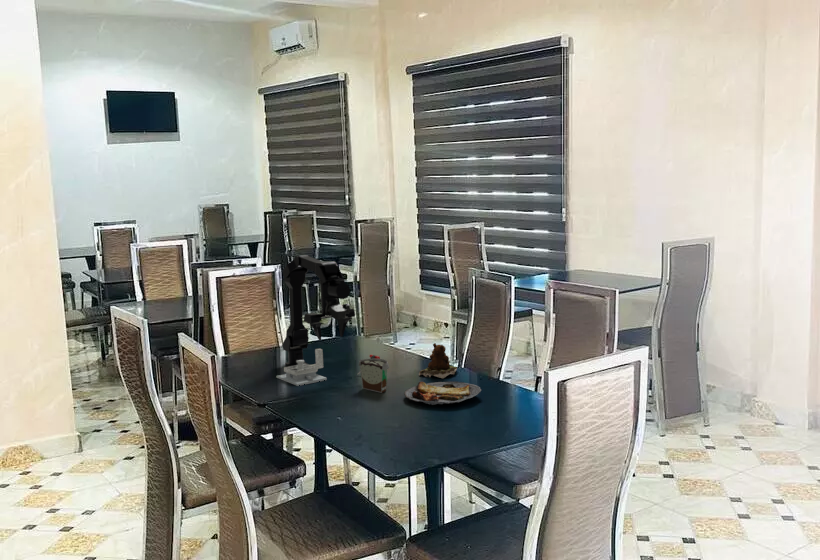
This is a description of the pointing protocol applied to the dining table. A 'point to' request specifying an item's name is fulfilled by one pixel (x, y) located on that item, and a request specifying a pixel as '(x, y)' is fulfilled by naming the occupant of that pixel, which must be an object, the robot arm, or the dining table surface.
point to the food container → (374, 374)
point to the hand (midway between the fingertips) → (330, 338)
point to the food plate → (442, 392)
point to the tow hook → (370, 358)
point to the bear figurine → (438, 363)
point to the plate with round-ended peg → (301, 376)
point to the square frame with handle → (307, 365)
